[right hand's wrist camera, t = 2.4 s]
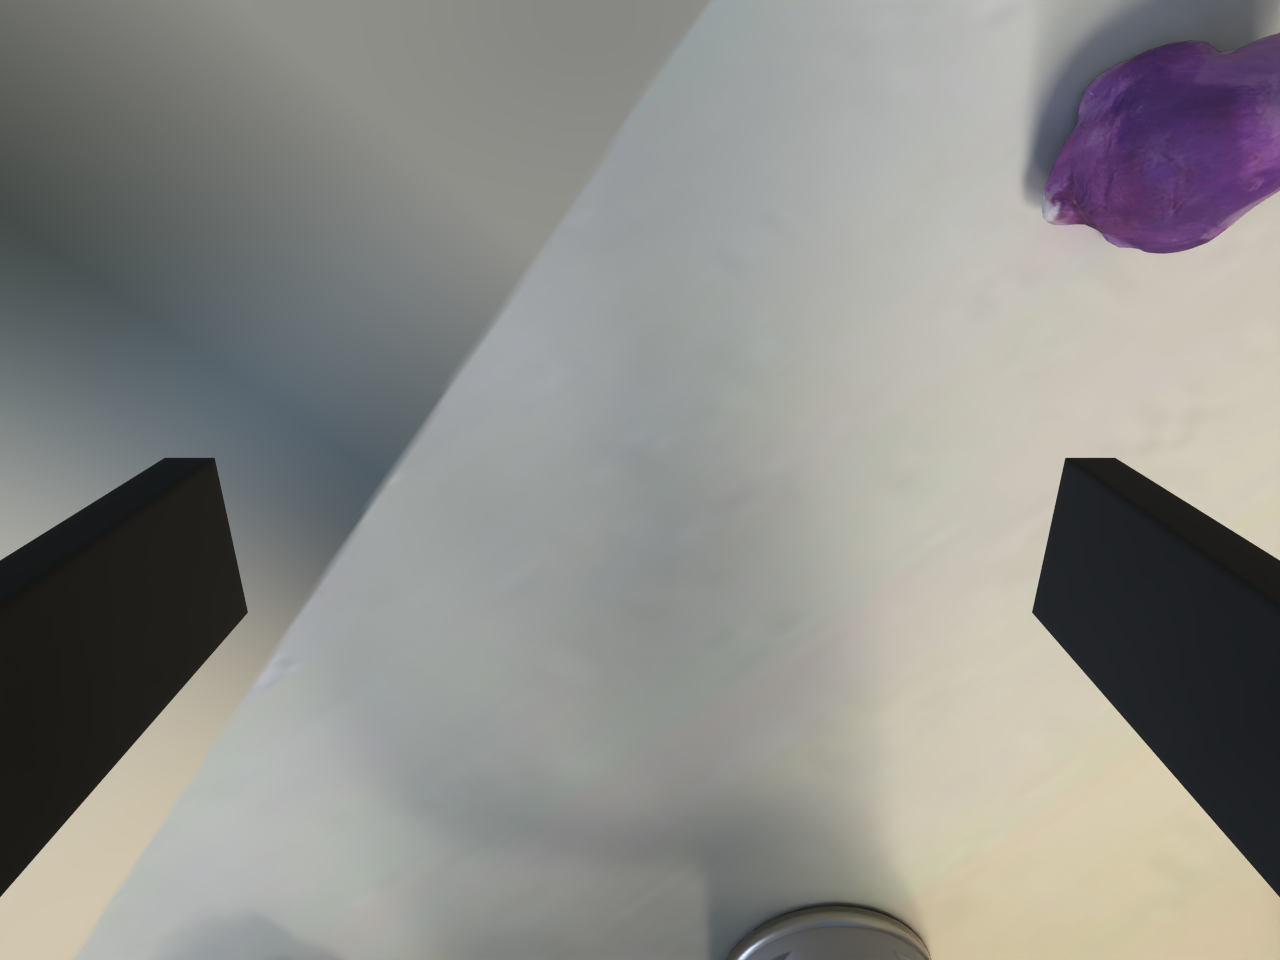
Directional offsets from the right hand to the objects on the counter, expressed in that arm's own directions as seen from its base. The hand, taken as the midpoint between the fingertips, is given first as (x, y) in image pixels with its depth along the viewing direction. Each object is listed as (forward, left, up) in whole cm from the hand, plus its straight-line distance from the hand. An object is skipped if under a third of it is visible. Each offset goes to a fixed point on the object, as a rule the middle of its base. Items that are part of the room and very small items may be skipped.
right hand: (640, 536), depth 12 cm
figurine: (+7, -23, -28) cm, 37 cm away
